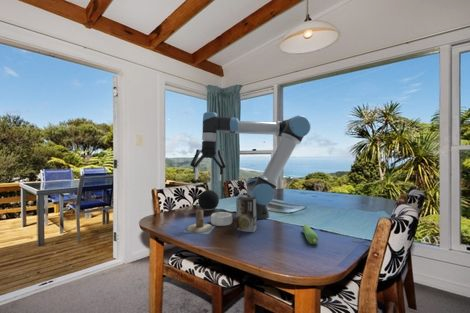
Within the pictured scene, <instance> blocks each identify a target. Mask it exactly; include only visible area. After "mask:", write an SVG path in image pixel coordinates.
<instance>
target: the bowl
mask: <svg viewBox="0 0 470 313" xmlns="http://www.w3.org/2000/svg"><path fill="white" fill-rule="evenodd" d="M210 223H211V225H212V226H219V227H220V226H221V227H224V226H230V225H231V224H232V223H233V213H230V212H227V211H226V212H223V211H220V212H218V211H217V213H213V214H212V215H211V216H210Z"/></svg>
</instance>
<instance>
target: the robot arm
mask: <svg viewBox="0 0 470 313" xmlns="http://www.w3.org/2000/svg"><path fill="white" fill-rule="evenodd" d="M217 131H219V132H221V133H223V134H243V135H244V134H245V135H273V136H275V137H280V138H281V140H280V141H279V144H278V145H277V147H276V148H275V151H274V153H273V155H272V156H271V158H270V160H269V162H268V164H267V165H266V168H265V169H264V170H263V173H262V174H261V175H258V177H257V178H248V179H247V180H246V197H254V198H256V220H263V219H269V217H270V212H269V209H268V205H269V204H270V203H271V202H272V201H273V199H274V198H275V191H276V189H277V187H278V185H277V181H278V179H279V178H280V176H281V174H282V172H283V170H284V168H285V166H286V164H287V163H288V161H289V159H290V157H291V155H292V153H293V151H294V149H295V148H296V145H299V144H301V143H302V140H303V139H304V137H305V136H307V135H308V134H309V133H310V131H311V122H310V120H309V118H307V117H306V116H304V115H299V114H298V115H294V116H292V117H290V118H288V119H285V120H276V121H275V122H273V121H247V120H246V121H245V120H239V118H237V117H232V116H228V117H226V116H225V117H224V116H218V113H216V112H212V111H207V112H204V113H203V114H202V136H201V137H202V138H201V140H202V141H201V149H196V151H195V155H194V157H192V160H191V162H190V163H189V165H190V167H192V168H193V174H194V180H198V179H199V167H198V166H199V165H200V164H201V163H202V162H203V160H204V159H212V160H213V161H214V162H215V164H216V165H217V166H218V167H219V168H218V176H217V181H218V182H220V181H222V175H224V169H225V168H227V163H226V161H225V159H224V156H223V154H222V150H220V149H218V150H216V149H217V142H216V141H217ZM200 154H201V156H200V157H199V155H200ZM216 154H217V155H218V158H219V159H218V158H217V156H216Z"/></svg>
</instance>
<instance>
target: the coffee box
mask: <svg viewBox="0 0 470 313" xmlns="http://www.w3.org/2000/svg"><path fill="white" fill-rule="evenodd" d="M235 201H236V203H235V204H236V207H235V208H236V210H235V211H236V230H237V231H241V232H244V233H245V232H246V233H255V231H257V220H258V219H256V198H254V197H247V196H239V197H238V198H236V200H235Z"/></svg>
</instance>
